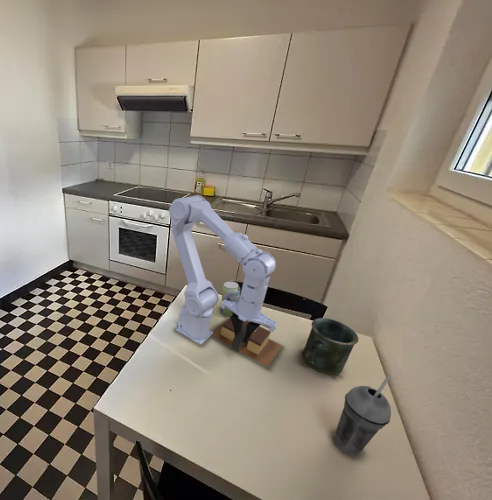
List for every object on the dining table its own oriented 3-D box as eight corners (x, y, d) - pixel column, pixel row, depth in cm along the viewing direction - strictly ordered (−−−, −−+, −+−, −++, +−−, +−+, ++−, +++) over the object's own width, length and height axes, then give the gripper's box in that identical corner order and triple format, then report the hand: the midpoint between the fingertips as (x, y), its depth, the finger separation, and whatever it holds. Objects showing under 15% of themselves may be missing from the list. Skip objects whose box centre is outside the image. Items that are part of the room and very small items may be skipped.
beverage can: (239, 320, 98) (246, 290, 93) (217, 316, 99) (223, 287, 94) (237, 309, 103) (243, 281, 98) (217, 306, 104) (222, 278, 100)
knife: (230, 348, 76) (233, 338, 75) (256, 319, 89) (258, 310, 87) (237, 352, 75) (240, 341, 74) (262, 322, 87) (265, 313, 86)
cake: (220, 334, 89) (222, 324, 87) (231, 323, 94) (233, 313, 93) (242, 346, 84) (245, 336, 83) (253, 334, 90) (255, 324, 88)
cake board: (210, 336, 89) (210, 335, 88) (227, 320, 97) (228, 318, 97) (267, 368, 78) (267, 366, 78) (281, 347, 86) (281, 345, 86)
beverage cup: (319, 428, 63) (350, 361, 55) (349, 426, 63) (384, 360, 55) (343, 464, 56) (383, 393, 48) (376, 462, 57) (421, 392, 49)
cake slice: (246, 348, 84) (249, 338, 82) (256, 336, 89) (259, 326, 88) (257, 354, 82) (261, 344, 80) (267, 341, 87) (270, 331, 86)
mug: (351, 370, 79) (367, 337, 74) (320, 388, 73) (335, 353, 68) (314, 345, 88) (327, 314, 83) (284, 359, 81) (295, 326, 76)
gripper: (219, 292, 74) (211, 332, 79) (275, 316, 65) (261, 360, 71) (231, 283, 79) (223, 322, 84) (284, 305, 70) (271, 346, 76)
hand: (241, 338), depth 78 cm, fingers closed on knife, 2 cm apart
